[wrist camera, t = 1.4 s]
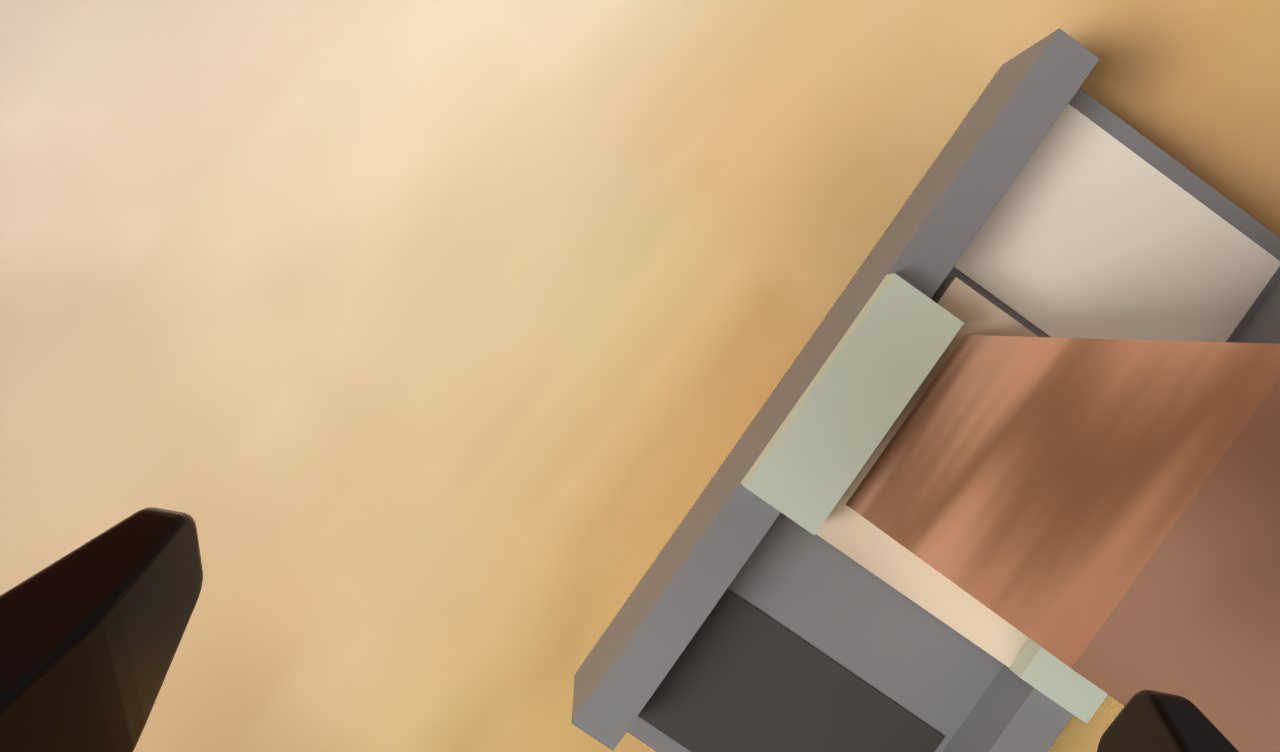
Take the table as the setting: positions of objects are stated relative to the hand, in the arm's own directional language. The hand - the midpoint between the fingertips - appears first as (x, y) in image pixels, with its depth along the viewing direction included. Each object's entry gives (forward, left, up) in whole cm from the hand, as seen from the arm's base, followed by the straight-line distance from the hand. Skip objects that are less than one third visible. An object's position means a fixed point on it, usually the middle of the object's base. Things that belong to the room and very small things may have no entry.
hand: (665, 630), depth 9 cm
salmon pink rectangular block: (0, -9, -15) cm, 17 cm away
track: (0, -9, -17) cm, 19 cm away
